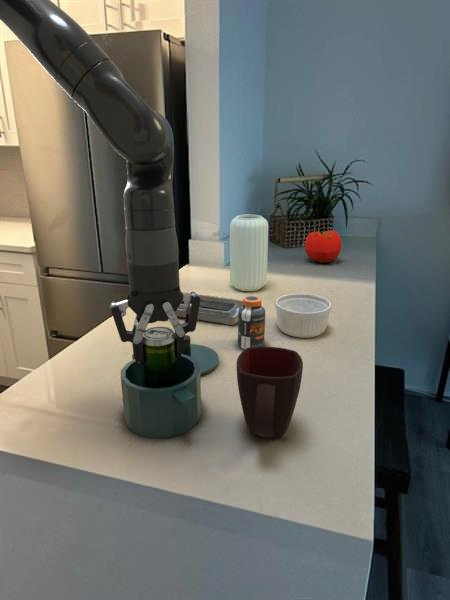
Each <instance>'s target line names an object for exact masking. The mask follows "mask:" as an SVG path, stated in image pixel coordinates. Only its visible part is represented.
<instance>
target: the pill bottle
mask: <svg viewBox="0 0 450 600" xmlns="http://www.w3.org/2000/svg"><path fill="white" fill-rule="evenodd" d="M242 301H243V306H241V307H240V308H239V310H238V321H237V345H238V347H239V348H240V349H242V350H245V349H246V348H250V347H265V332H266V309H265V308H264V306H262V298H261V297H260V296H258V295H246V296H244V297H243V298H242Z"/></svg>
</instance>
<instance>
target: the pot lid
mask: <svg viewBox="0 0 450 600" xmlns="http://www.w3.org/2000/svg"><path fill="white" fill-rule="evenodd" d="M191 340H192V339H191V335H188V334H185V336H184V344H185V352H184V355H187V356H190V357H192V358H193V359H194V360H196V361H197V362H198V364H199V367H200V376H202V375H204V374H207V373H209V372H211V371H212V370H214V369H215V368H216V367H217V365H218V364H219V354H218V353H217V352H216V351H215V350H214V349H213V348H210V347H209V346H207V345H203V344H195V343H192V342H191Z"/></svg>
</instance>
